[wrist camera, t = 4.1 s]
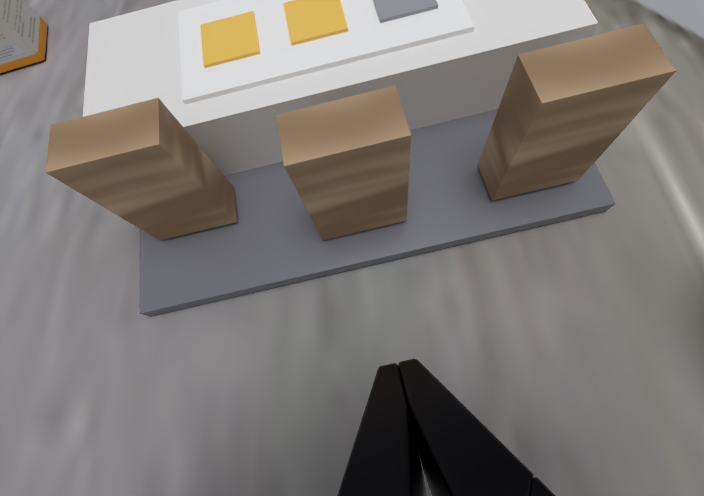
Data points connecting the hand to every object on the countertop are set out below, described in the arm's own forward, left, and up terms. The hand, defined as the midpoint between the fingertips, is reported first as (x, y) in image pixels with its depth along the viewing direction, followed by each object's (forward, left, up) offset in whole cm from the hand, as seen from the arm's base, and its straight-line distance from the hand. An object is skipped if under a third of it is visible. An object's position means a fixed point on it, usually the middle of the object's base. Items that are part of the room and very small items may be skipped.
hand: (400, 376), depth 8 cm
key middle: (+8, -6, -11) cm, 15 cm away
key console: (+13, -9, -13) cm, 20 cm away
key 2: (+16, +1, -11) cm, 19 cm away
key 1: (+2, -14, -11) cm, 18 cm away
